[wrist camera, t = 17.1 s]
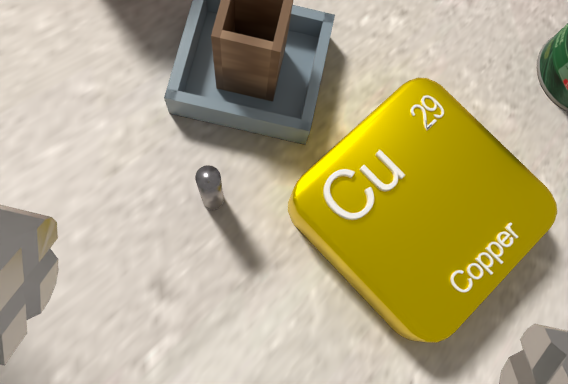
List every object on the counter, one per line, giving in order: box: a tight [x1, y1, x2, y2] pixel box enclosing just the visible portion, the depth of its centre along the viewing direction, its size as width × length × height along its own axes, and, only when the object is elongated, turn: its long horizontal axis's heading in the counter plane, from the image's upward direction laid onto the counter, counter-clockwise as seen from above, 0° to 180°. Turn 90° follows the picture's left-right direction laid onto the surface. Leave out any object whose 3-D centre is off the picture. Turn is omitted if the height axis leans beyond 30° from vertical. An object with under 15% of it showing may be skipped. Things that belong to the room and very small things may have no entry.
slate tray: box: [164, 0, 335, 144], centre depth 41 cm, size 11×10×3 cm
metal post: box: [196, 166, 224, 210], centre depth 37 cm, size 2×2×6 cm
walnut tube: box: [211, 0, 293, 101], centre depth 38 cm, size 5×5×8 cm
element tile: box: [288, 78, 557, 343], centre depth 39 cm, size 15×15×5 cm
